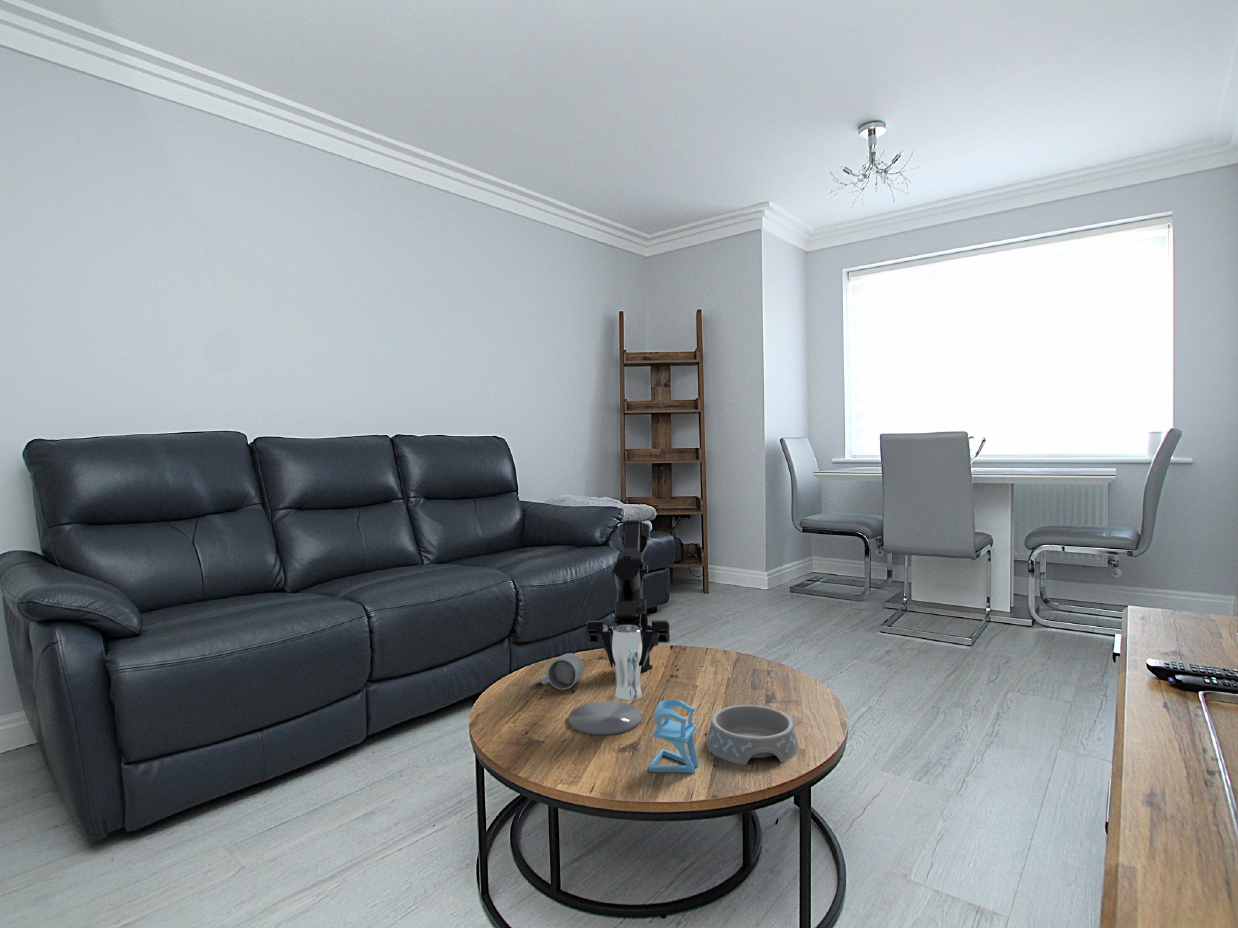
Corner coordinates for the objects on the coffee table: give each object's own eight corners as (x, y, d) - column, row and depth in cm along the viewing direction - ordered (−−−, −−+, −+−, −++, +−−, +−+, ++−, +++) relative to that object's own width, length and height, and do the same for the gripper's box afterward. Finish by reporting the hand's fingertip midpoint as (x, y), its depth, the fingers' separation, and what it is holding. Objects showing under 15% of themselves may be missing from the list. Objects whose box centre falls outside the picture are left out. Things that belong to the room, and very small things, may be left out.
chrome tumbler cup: (639, 702, 147) (638, 633, 146) (608, 699, 149) (606, 631, 148) (647, 691, 153) (646, 624, 153) (617, 688, 155) (616, 622, 155)
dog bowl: (811, 763, 130) (811, 735, 130) (716, 768, 128) (715, 740, 128) (783, 725, 147) (783, 701, 147) (698, 730, 145) (698, 705, 145)
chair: (690, 779, 124) (690, 714, 124) (647, 771, 127) (646, 707, 127) (702, 760, 131) (701, 698, 131) (661, 753, 134) (660, 693, 134)
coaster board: (553, 721, 151) (553, 717, 151) (604, 700, 163) (604, 696, 163) (606, 742, 140) (606, 737, 140) (656, 717, 152) (656, 713, 152)
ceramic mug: (585, 679, 177) (584, 649, 177) (577, 690, 169) (575, 659, 169) (546, 678, 180) (545, 649, 179) (536, 689, 172) (534, 658, 171)
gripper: (585, 585, 154) (580, 649, 144) (668, 584, 153) (669, 649, 143) (590, 610, 163) (585, 672, 152) (669, 610, 161) (670, 673, 151)
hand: (626, 666), depth 149 cm, fingers closed on chrome tumbler cup, 6 cm apart
